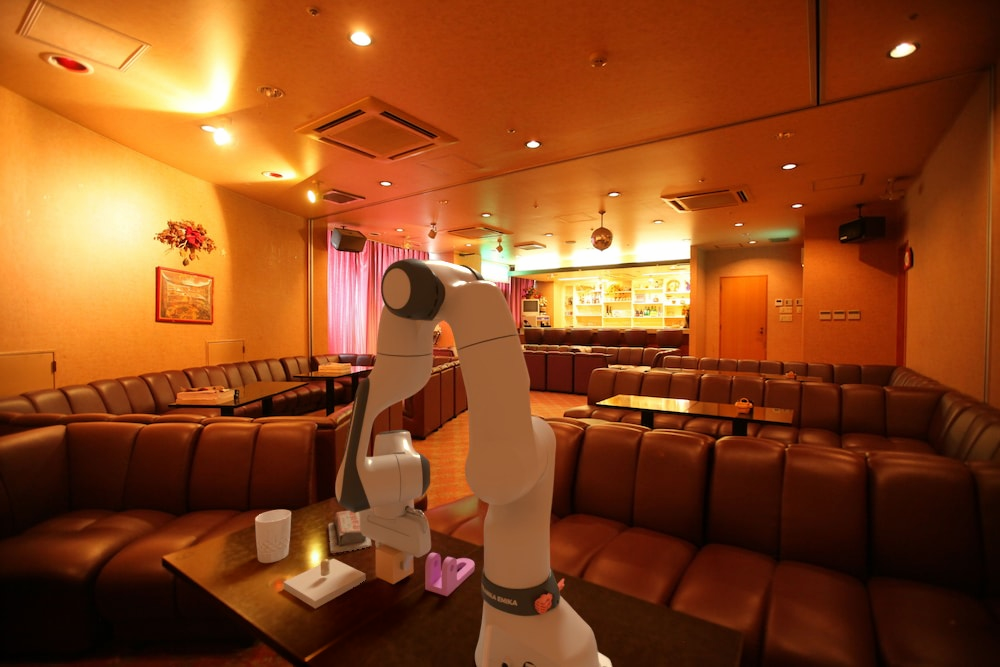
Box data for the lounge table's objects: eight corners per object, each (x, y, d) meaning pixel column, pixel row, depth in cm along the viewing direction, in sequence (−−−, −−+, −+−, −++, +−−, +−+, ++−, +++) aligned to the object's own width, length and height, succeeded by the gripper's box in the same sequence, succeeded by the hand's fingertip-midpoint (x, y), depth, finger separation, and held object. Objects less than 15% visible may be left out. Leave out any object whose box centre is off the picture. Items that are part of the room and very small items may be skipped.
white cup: (266, 567, 101) (266, 525, 101) (248, 559, 105) (248, 518, 105) (297, 553, 108) (297, 513, 108) (279, 546, 112) (279, 507, 112)
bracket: (447, 597, 89) (446, 563, 89) (425, 590, 92) (425, 557, 92) (478, 567, 101) (478, 537, 101) (458, 562, 103) (458, 532, 103)
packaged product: (327, 511, 123) (364, 505, 127) (327, 528, 123) (364, 522, 127) (330, 537, 107) (372, 530, 111) (330, 557, 107) (372, 549, 111)
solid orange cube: (413, 572, 97) (413, 545, 97) (393, 584, 92) (392, 556, 92) (396, 564, 100) (396, 538, 100) (375, 576, 96) (375, 548, 96)
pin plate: (365, 580, 95) (365, 555, 95) (315, 608, 85) (315, 580, 85) (333, 564, 102) (333, 541, 102) (283, 588, 92) (283, 562, 92)
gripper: (437, 507, 93) (438, 572, 93) (376, 489, 105) (377, 547, 105) (415, 517, 88) (416, 586, 88) (354, 497, 100) (355, 557, 100)
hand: (394, 564), depth 96 cm, fingers closed on solid orange cube, 6 cm apart
